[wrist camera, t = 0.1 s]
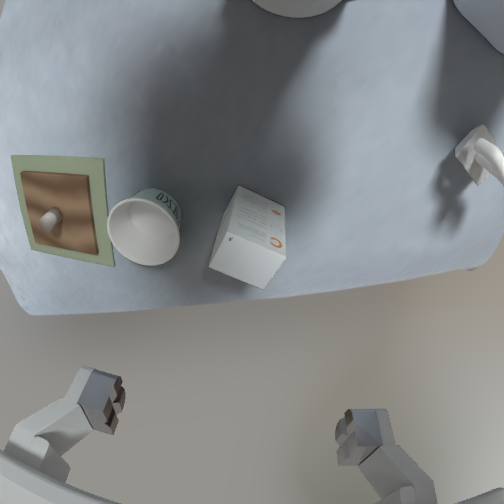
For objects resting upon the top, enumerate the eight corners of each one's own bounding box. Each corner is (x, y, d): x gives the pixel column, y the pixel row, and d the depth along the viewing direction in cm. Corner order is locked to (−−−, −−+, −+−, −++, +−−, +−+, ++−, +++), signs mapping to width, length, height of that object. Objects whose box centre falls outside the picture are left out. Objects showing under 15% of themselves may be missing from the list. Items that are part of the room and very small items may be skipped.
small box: (221, 216, 51) (206, 267, 40) (238, 184, 47) (226, 229, 37) (267, 237, 52) (263, 291, 42) (286, 206, 49) (288, 257, 38)
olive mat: (12, 155, 45) (10, 155, 45) (104, 158, 46) (102, 159, 45) (32, 248, 58) (31, 249, 58) (115, 265, 58) (114, 266, 58)
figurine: (468, 112, 36) (527, 144, 24) (495, 153, 39) (549, 194, 27) (440, 142, 40) (493, 183, 28) (470, 181, 43) (518, 229, 30)
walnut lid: (23, 170, 46) (7, 182, 42) (88, 175, 47) (73, 188, 43) (37, 240, 56) (25, 254, 52) (98, 251, 56) (87, 268, 52)
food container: (111, 213, 52) (94, 234, 46) (147, 165, 46) (130, 182, 41) (163, 254, 56) (152, 278, 51) (204, 213, 51) (195, 235, 45)
